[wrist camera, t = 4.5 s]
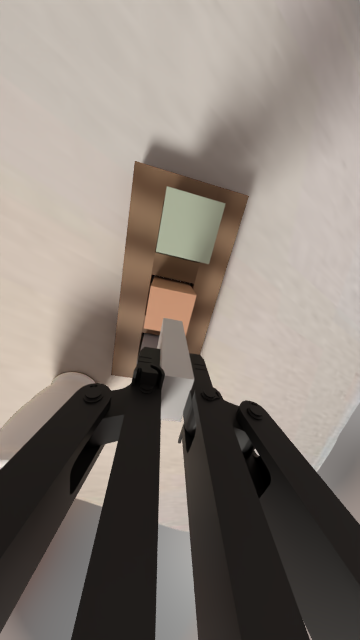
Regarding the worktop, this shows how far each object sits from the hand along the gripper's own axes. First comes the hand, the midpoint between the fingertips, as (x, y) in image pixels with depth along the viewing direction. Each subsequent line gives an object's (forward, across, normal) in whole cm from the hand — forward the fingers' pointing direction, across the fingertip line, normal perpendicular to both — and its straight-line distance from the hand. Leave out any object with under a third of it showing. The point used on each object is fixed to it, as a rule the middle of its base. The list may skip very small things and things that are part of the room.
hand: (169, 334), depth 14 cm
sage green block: (+12, 0, +8) cm, 15 cm away
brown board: (+14, 0, 0) cm, 14 cm away
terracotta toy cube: (+14, 0, -1) cm, 14 cm away
